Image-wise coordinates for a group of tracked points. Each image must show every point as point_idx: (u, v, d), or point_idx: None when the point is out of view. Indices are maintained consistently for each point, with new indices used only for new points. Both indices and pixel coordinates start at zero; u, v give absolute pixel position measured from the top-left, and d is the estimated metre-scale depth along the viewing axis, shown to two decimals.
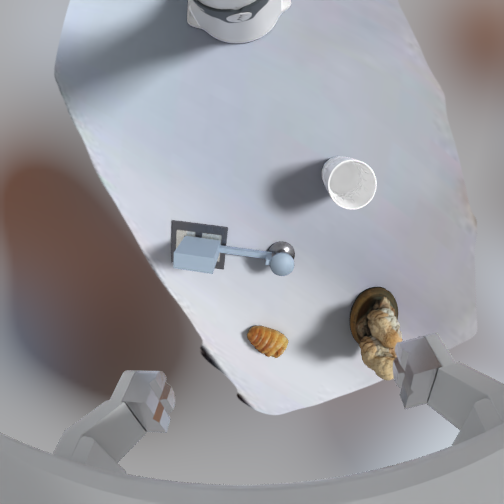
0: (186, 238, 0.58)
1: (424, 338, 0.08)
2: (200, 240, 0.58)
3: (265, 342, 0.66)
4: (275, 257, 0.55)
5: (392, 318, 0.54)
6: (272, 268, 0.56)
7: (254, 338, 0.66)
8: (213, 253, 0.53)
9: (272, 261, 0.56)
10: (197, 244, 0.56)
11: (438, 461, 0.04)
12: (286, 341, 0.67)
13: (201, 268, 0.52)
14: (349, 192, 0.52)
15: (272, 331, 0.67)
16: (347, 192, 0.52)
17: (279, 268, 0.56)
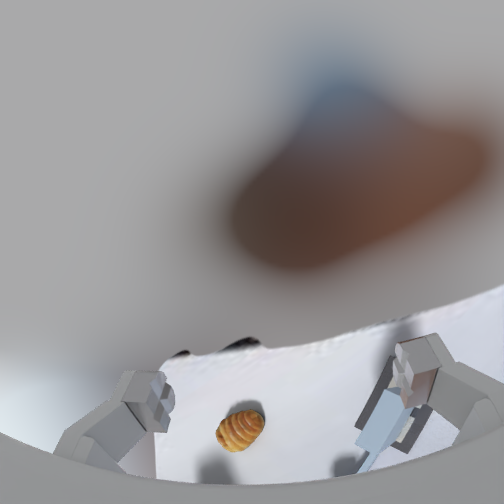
0: None
1: (424, 338, 0.08)
2: (406, 418, 0.29)
3: (237, 430, 0.44)
4: None
5: None
6: None
7: (247, 420, 0.44)
8: (382, 449, 0.26)
9: None
10: (403, 420, 0.28)
11: (438, 461, 0.04)
12: (232, 451, 0.44)
13: (368, 432, 0.26)
14: None
15: (250, 442, 0.44)
16: None
17: None
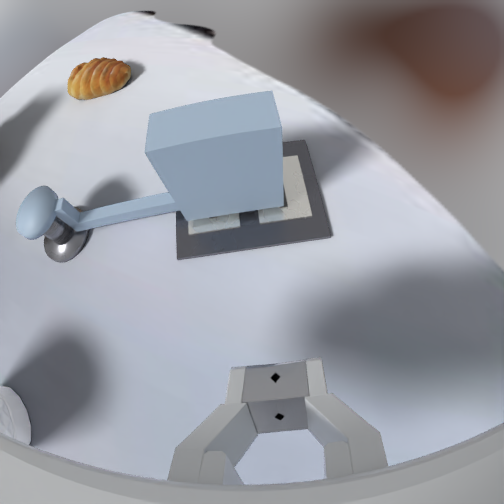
0: (275, 199, 0.21)
1: (303, 362, 0.09)
2: (234, 203, 0.20)
3: (96, 69, 0.29)
4: (42, 221, 0.19)
5: None
6: (49, 195, 0.19)
7: (114, 68, 0.29)
8: (161, 170, 0.16)
9: (48, 210, 0.19)
10: (231, 186, 0.18)
11: (438, 461, 0.04)
12: (69, 90, 0.30)
13: (181, 114, 0.15)
14: None
15: (90, 92, 0.30)
16: None
17: (38, 200, 0.19)
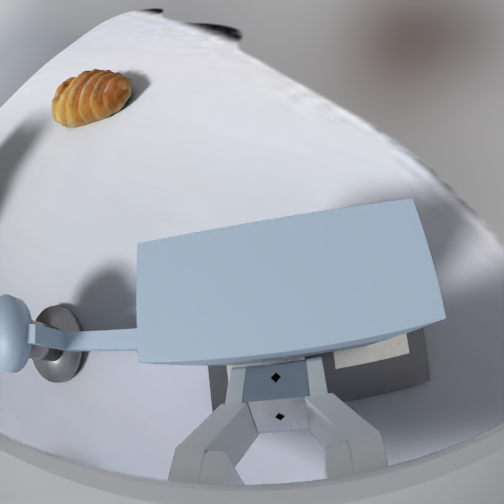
0: None
1: (304, 362, 0.09)
2: None
3: (85, 87, 0.22)
4: (14, 357, 0.11)
5: None
6: (17, 315, 0.12)
7: (109, 84, 0.22)
8: None
9: (19, 341, 0.12)
10: (306, 354, 0.10)
11: (438, 461, 0.04)
12: (55, 116, 0.24)
13: (210, 258, 0.07)
14: None
15: (79, 118, 0.23)
16: None
17: (5, 319, 0.12)
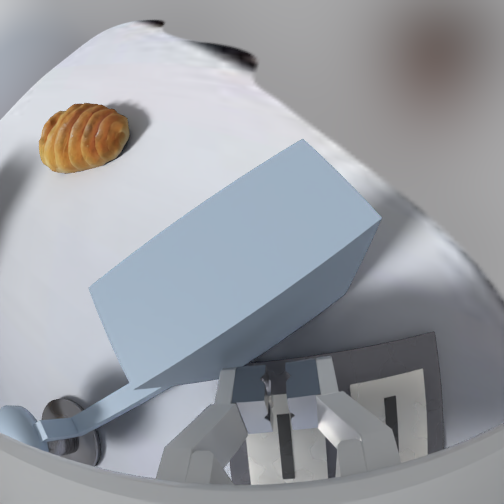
0: (337, 296, 0.13)
1: (313, 360, 0.09)
2: (286, 333, 0.13)
3: (74, 128, 0.20)
4: None
5: None
6: (21, 420, 0.10)
7: (102, 125, 0.20)
8: (174, 380, 0.08)
9: (33, 443, 0.10)
10: (285, 325, 0.11)
11: (438, 461, 0.04)
12: (43, 159, 0.21)
13: (152, 268, 0.07)
14: None
15: (70, 165, 0.21)
16: None
17: (13, 429, 0.10)
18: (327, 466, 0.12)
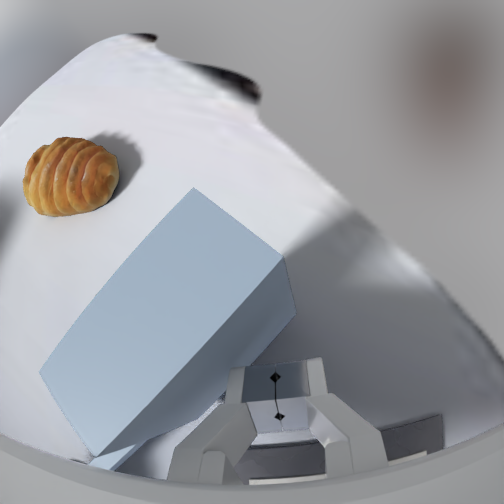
0: (286, 320, 0.13)
1: (304, 362, 0.09)
2: None
3: (58, 170, 0.18)
4: None
5: None
6: None
7: (88, 168, 0.18)
8: (135, 440, 0.07)
9: None
10: (233, 365, 0.10)
11: (438, 461, 0.04)
12: (28, 200, 0.20)
13: (82, 348, 0.07)
14: None
15: (57, 211, 0.19)
16: None
17: None
18: None
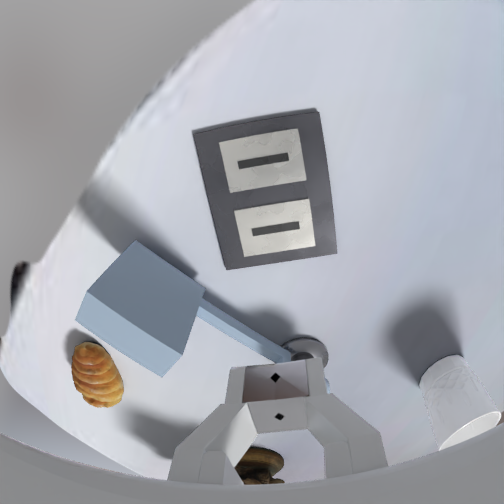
0: (136, 249, 0.23)
1: (303, 362, 0.09)
2: (163, 270, 0.23)
3: (91, 381, 0.29)
4: None
5: None
6: None
7: (85, 362, 0.29)
8: (183, 334, 0.19)
9: None
10: (153, 283, 0.21)
11: (438, 461, 0.04)
12: (118, 400, 0.32)
13: (141, 357, 0.18)
14: None
15: (116, 378, 0.31)
16: None
17: None
18: (289, 201, 0.22)
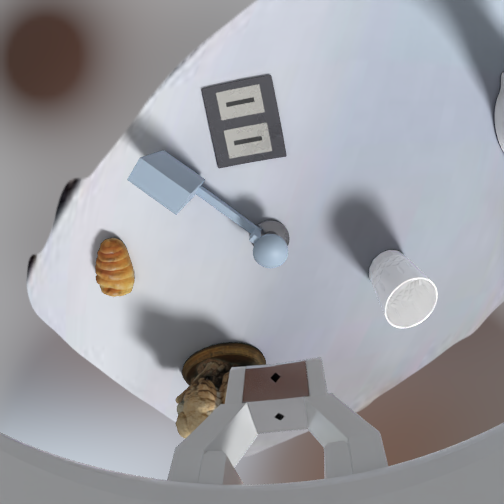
0: (164, 153, 0.37)
1: (303, 362, 0.09)
2: (180, 165, 0.37)
3: (111, 268, 0.43)
4: (268, 237, 0.38)
5: None
6: (255, 250, 0.39)
7: (107, 251, 0.43)
8: (191, 188, 0.33)
9: (261, 241, 0.38)
10: (174, 167, 0.35)
11: (438, 461, 0.04)
12: (129, 290, 0.46)
13: (165, 199, 0.32)
14: None
15: (129, 266, 0.45)
16: None
17: (264, 254, 0.39)
18: (255, 124, 0.37)
